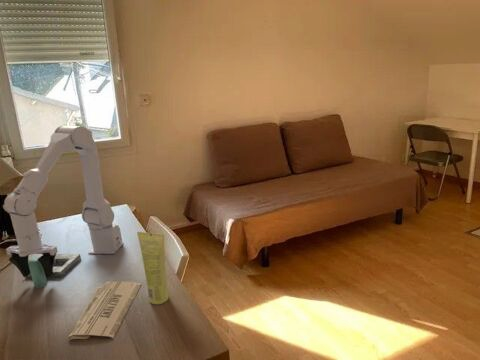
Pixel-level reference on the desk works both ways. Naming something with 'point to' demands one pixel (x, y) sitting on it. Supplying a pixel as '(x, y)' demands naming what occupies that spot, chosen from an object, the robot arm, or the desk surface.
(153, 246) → the tube
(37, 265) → the peg
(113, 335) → the newspaper
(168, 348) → the desk surface
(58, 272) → the keyhole plate
